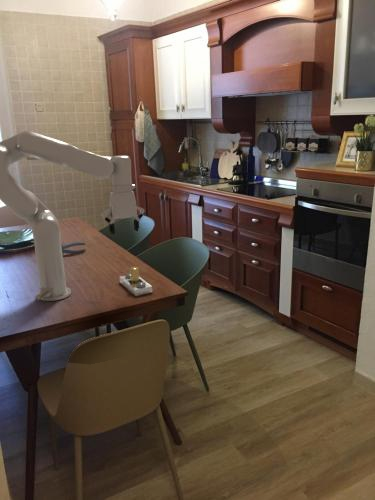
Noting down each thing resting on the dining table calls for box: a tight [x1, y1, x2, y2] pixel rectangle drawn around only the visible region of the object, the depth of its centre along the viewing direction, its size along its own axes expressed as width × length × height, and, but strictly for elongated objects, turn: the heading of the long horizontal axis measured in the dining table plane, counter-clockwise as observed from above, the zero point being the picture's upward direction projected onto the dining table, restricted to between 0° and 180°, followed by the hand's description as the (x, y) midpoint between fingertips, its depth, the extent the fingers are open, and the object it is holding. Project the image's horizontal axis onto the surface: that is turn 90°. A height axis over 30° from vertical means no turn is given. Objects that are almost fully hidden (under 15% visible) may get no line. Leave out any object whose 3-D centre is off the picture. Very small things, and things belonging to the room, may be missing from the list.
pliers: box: [61, 241, 87, 255], centre depth 219 cm, size 20×2×6 cm, turn 112°
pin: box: [129, 266, 140, 285], centre depth 173 cm, size 3×3×8 cm
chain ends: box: [119, 272, 153, 297], centre depth 174 cm, size 17×7×4 cm, turn 29°
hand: (124, 231), depth 172 cm, fingers open, 9 cm apart
